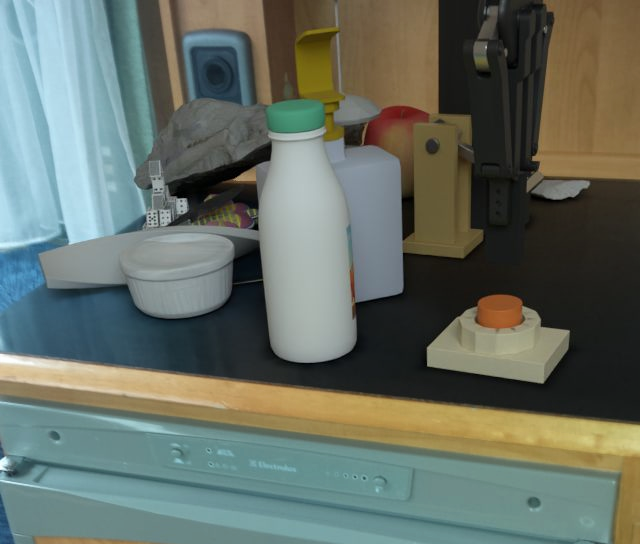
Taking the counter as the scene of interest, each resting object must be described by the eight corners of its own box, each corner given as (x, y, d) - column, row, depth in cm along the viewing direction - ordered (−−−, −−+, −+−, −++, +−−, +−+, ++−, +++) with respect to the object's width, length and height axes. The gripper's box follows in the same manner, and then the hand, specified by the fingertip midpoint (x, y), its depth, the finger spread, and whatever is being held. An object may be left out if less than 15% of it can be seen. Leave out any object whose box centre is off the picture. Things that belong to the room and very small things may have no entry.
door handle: (303, 255, 106) (290, 264, 110) (294, 206, 105) (282, 216, 110) (49, 293, 99) (47, 300, 103) (37, 240, 98) (36, 249, 103)
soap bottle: (286, 318, 94) (260, 41, 81) (266, 295, 100) (238, 31, 86) (406, 295, 97) (400, 22, 83) (380, 274, 102) (371, 14, 89)
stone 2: (522, 189, 122) (523, 172, 121) (584, 185, 122) (586, 168, 120) (528, 208, 118) (529, 191, 117) (592, 203, 118) (594, 186, 116)
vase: (529, 235, 109) (546, -94, 92) (435, 236, 111) (435, -86, 93) (528, 206, 117) (544, -101, 100) (441, 208, 119) (442, -94, 102)
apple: (348, 199, 124) (344, 112, 118) (401, 181, 129) (399, 97, 123) (405, 213, 118) (403, 122, 112) (458, 193, 123) (459, 105, 117)
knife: (209, 290, 103) (208, 287, 103) (208, 285, 104) (208, 282, 104) (305, 278, 103) (304, 275, 103) (303, 273, 104) (303, 270, 104)
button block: (568, 349, 85) (571, 309, 83) (543, 383, 80) (545, 342, 78) (457, 334, 89) (457, 296, 87) (426, 366, 84) (426, 327, 82)
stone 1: (265, 157, 109) (252, 56, 106) (115, 198, 128) (101, 115, 125) (356, 158, 119) (346, 66, 116) (204, 197, 138) (192, 119, 136)
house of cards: (215, 238, 115) (205, 169, 111) (140, 243, 116) (128, 174, 111) (222, 215, 123) (214, 148, 118) (152, 219, 123) (141, 153, 119)
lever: (537, 191, 103) (548, 169, 102) (519, 208, 99) (529, 186, 97) (437, 136, 105) (446, 113, 103) (415, 150, 101) (424, 128, 99)
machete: (247, 186, 112) (250, 192, 113) (237, 177, 114) (239, 182, 115) (133, 257, 111) (136, 262, 112) (125, 246, 113) (128, 251, 114)
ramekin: (234, 276, 105) (228, 225, 102) (246, 315, 96) (240, 260, 93) (127, 290, 104) (117, 239, 101) (128, 331, 95) (118, 276, 92)
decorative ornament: (272, 233, 108) (181, 254, 108) (275, 252, 110) (186, 273, 109) (250, 181, 121) (169, 200, 120) (253, 199, 122) (173, 217, 122)
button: (527, 317, 83) (528, 296, 82) (513, 333, 81) (514, 313, 80) (486, 312, 85) (486, 292, 84) (470, 328, 82) (471, 308, 81)
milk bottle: (350, 366, 85) (335, 113, 74) (262, 365, 87) (234, 117, 75) (363, 329, 91) (351, 91, 80) (280, 329, 93) (257, 95, 81)
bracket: (483, 240, 109) (486, 114, 101) (463, 258, 105) (465, 128, 97) (423, 235, 112) (422, 111, 104) (401, 252, 108) (398, 125, 100)
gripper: (493, -99, 72) (487, 231, 86) (422, -81, 63) (429, 285, 77) (597, -106, 69) (574, 238, 83) (539, -88, 60) (524, 294, 74)
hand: (504, 260), depth 80 cm, fingers closed
